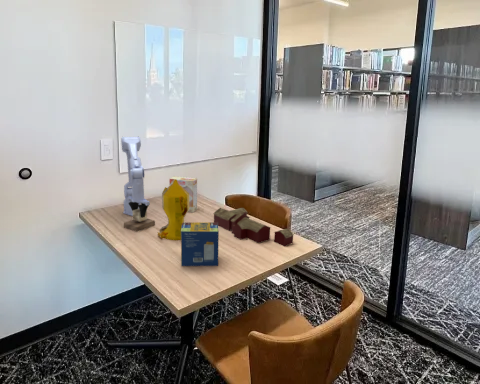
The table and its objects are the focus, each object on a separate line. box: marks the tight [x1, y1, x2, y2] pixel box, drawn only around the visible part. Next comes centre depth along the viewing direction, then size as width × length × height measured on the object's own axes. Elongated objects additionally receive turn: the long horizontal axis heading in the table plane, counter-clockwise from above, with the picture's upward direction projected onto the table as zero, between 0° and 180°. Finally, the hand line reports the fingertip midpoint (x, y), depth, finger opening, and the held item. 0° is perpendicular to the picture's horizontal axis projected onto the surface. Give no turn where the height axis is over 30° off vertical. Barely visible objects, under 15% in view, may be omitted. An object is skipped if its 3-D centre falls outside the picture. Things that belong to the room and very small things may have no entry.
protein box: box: [180, 221, 220, 267], centre depth 153 cm, size 10×15×16 cm
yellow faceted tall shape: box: [157, 179, 189, 242], centre depth 179 cm, size 18×24×28 cm
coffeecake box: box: [169, 175, 198, 213], centre depth 218 cm, size 15×7×20 cm, turn 77°
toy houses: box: [212, 207, 295, 247], centre depth 186 cm, size 45×20×10 cm, turn 40°
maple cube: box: [132, 209, 148, 222], centre depth 191 cm, size 5×5×5 cm
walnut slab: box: [123, 217, 156, 233], centre depth 192 cm, size 10×12×3 cm
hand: (139, 216), depth 191 cm, fingers closed on maple cube, 5 cm apart
